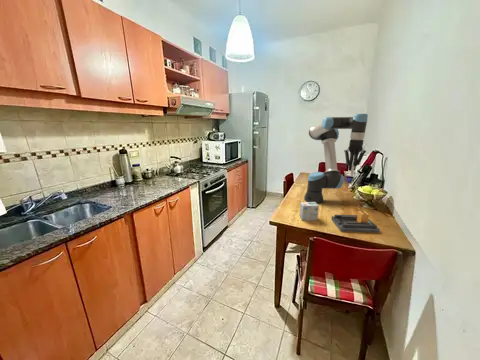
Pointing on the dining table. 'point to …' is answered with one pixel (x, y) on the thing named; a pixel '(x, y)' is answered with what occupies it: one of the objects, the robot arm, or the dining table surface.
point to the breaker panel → (353, 220)
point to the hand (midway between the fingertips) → (350, 175)
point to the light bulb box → (309, 210)
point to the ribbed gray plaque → (356, 224)
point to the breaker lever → (362, 216)
